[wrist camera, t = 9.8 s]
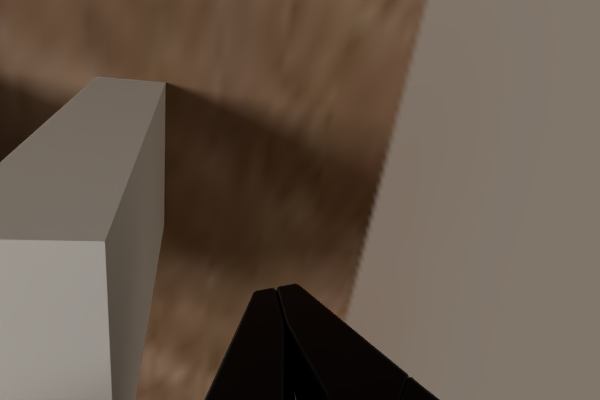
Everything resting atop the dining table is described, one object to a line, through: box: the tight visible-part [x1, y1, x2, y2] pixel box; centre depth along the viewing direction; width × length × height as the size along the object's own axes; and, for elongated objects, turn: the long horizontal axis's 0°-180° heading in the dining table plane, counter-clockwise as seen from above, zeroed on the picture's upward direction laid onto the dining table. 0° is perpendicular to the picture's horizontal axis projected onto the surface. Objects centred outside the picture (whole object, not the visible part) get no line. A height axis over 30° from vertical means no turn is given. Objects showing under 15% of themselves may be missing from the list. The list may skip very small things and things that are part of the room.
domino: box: [0, 76, 166, 400], centre depth 11 cm, size 2×5×10 cm, turn 173°
